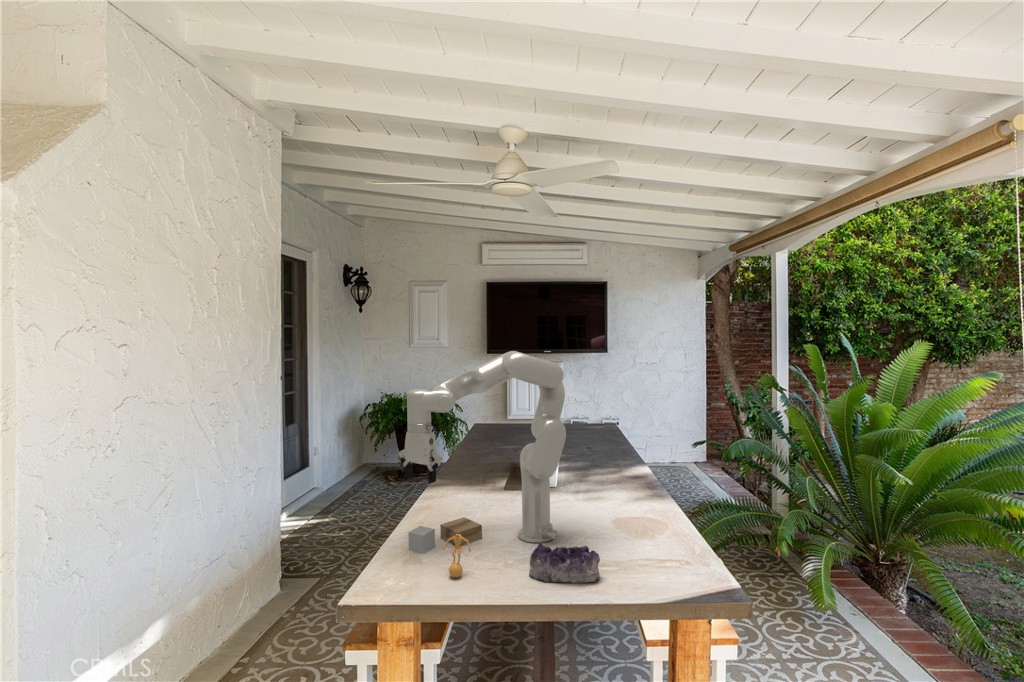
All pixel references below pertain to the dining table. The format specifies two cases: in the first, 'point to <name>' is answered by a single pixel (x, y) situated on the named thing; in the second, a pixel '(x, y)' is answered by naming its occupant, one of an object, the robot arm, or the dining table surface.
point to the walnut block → (461, 530)
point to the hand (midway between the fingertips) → (420, 480)
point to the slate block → (421, 539)
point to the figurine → (456, 568)
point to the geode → (564, 564)
